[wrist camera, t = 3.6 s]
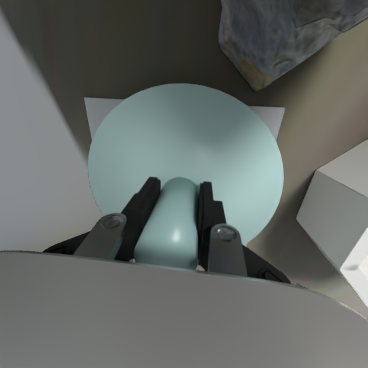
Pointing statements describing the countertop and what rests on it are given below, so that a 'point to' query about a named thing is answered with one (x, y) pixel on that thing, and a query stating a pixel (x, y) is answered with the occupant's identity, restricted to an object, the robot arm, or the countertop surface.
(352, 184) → the bowl
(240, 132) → the lid
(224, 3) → the fossil rock
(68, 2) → the countertop surface
